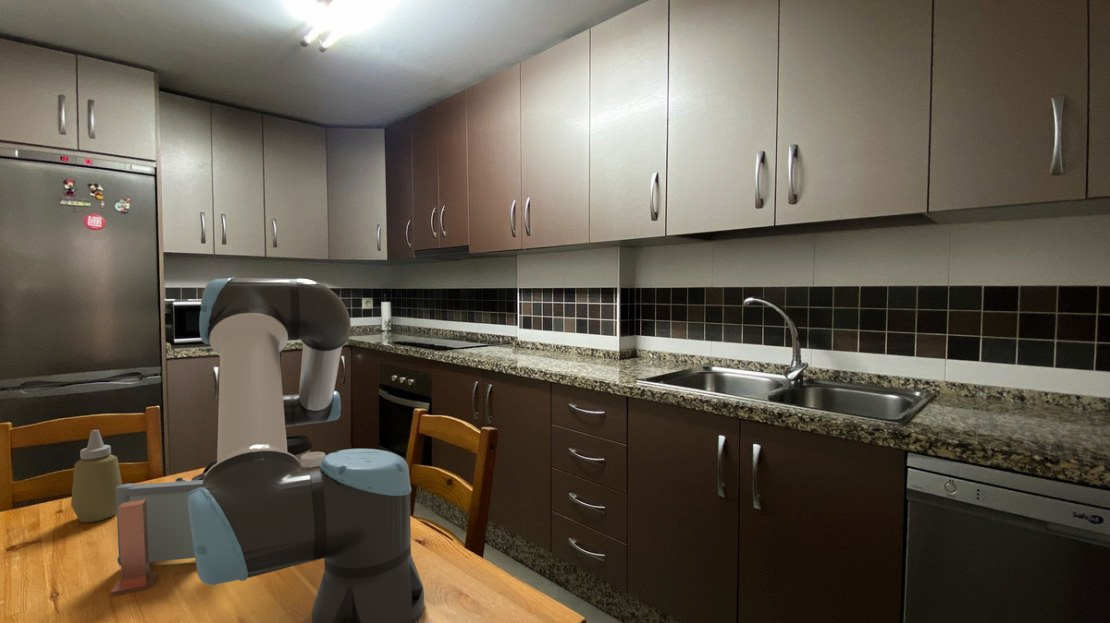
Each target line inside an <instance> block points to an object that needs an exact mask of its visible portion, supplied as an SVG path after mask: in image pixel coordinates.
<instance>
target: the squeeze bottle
mask: <svg viewBox="0 0 1110 623" xmlns="http://www.w3.org/2000/svg"><path fill="white" fill-rule="evenodd" d="M79 453H80V455H79V456H80V459H79V460H78V461H76V462H75V463H74V467H73V468H74V469H73V475H72V476H73V477H72V478H73V480H72V489H71V502H70V507H71V508H72V510H73V511H74V513H75V515H76V517H77V519H78V520H79V521H80V523H93V522H95V523H96V522H98V521H99V522H101V521H103V520H107V519H109V518H111V517H114V516H115V515H117V507H116V487H117V486H120V485H123V481H122V477H121V471H120V466H119V465H120V464H119V460H118V456H116V455H113V454H112V447H111V445H109V444H104V441H103V438H102V436H101V434H100V430H99V429H93V430H91V431H90V433H89V438H88V442H87V446H86V447H85V448H82V449H80V452H79Z"/></svg>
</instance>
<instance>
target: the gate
mask: <svg viewBox="0 0 1110 623" xmlns="http://www.w3.org/2000/svg"><path fill="white" fill-rule="evenodd" d="M199 487H203V480H194V481H188V480H186V481H180V482H175V481H168V482H152V483H141V484H140V483H138V484H137V483H136V484H135V483H131V482H130V483H124V484H123V483H122V485H120V486H117V487H116V507H117V514H116V526H117V527H116V528H117V547H118V548H117V549H118V550H117V551H118V557H117V563H118V566H120V567H121V552H120V531H119V509H118V508H119V506H120V505H121V504H122V503H124V502H131V501H137V500H144V499H146V505H147V528H148V551H149V563H154V562H155V563H156V562H164V561H165V562H166V561H176V560H184V559H185V560H186V559H195V554H194V548H193V540H192V532H191V525H190V517H189V509H188V493H189V492H191V491H192V490H196V489H197V488H199Z"/></svg>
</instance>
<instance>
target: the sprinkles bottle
mask: <svg viewBox="0 0 1110 623" xmlns="http://www.w3.org/2000/svg"><path fill="white" fill-rule="evenodd" d="M326 455H327V454H326V453H325V452H323V451H310V453H306V454H304V455H302V456H301V468H302V471H308V470H314V469H319V468H321V467H320V464H321V462H322V460H323V458H324V457H325V456H326Z"/></svg>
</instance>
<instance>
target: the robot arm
mask: <svg viewBox="0 0 1110 623" xmlns="http://www.w3.org/2000/svg"><path fill="white" fill-rule="evenodd" d="M200 300H201V301H200V311H199V335H200V339H201V341H202V343H204V344H205V345H209V346H210V347H211V349H212V350H213V352H214V353H215V354H217V355H218V356H219V380H218V381H219V385H218V415H217V416H218V420H217V422H218V425H217V452H216V453H217V454H216V459H215V460H212V461H211V462H209V463H208V464H207V465H206V466H205V468H204V470H203V472H202V473H200V474H198V475H194V477H192V478H191V479H189V480H187V479H184V478H183V477H178V478H176V479H175V481H174V482H180V481H194V480H203V487H199V488H197V489H196V490H192V491H191V492H189V493H188V509H189V517H190V525H191V532H192V540H193V548H194V554H195V558H194V559H195V567H196V572H197V576H198V579H199V580H200V581H201V582H202V583H203V584H204V585H207V586H216V585H221V584H226V583H230V582H235V581H236V582H237V581H240V582H241V581H242V582H243V581H244V582H245V581H247V580H248V579H251V578H253V577H258V576H261V575H265V574H269V573H272V572H276V571H280V570H284V569H288V568H290V567H291V568H292V567H294V566H295V567H296V566H299V565H303V564H306V563H309V562H311V563H312V562H315V561H318V560H322V559H324V562H323V563H324V564H323V565H324V568H323V570H324V571H323V574H322V578H321V580H320V584H319V587H318V589H317V593H316V596H315V600H314V603H313V606H312V609H311V610H312V611H311V623H417V622H418V621H419V620H420V619H421V616H422V615H423V613H424V610H425V589H424V585H423V582H422V580H421V577H420V574H419V571H418V569H417V565H416V564H415V561H414V559H413V556H412V547H411V546H412V541H411V540H412V535H411V533H412V532H411V531H412V530H411V529H412V528H411V527H412V526H411V525H412V524H411V521H412V520H411V492H412V485H411V480H410V470H409V465H408V463H407V461H406V460H405V459H404V458H403V457H402V456H400V455H398V454H396V453H394V452H391V451H388V450H382V449H376V448H349V449H341V450H336V451H335V452H329V453H328V454H325V455H326V456H325V457H324V458H323V460H322V462H321V464H320V467H321V468H319V469H314V470H308V471H302V472H301V466H300V462H299V460H298V459H297V458H296V457H295V456H294V455H292V454H290V453H288V452H287V441H286V436H287V434H286V433H287V430H286V428H287V427H294V426H295V427H296V426H303V425H310V424H319V423H320V424H321V423H322V424H323V423H327V422H332V421H337V420H338V419H339V418H340V416H341V412H342V411H341V409H342V404H341V402H342V401H341V395H340V393H339V392H338V391H337V390H335V387H336V382H337V376H338V371H339V365H340V360H341V355H342V349H343V347H344V346H345V345H346V343H348V341H349V337H350V332H351V326H352V323H351V317H350V313H349V311H348V309H347V307H346V305H345V304H344V302H343V301H342V299H341V298H340V297H339V295H338V294H336V293H335V292H334V291H333V290H331V289H330V288H329V287H327V286H326V285H324V284H322V283H320V282H317V281H315V280H313V279H308V278H263V277H262V278H257V277H256V278H255V277H254V278H252V277H250V278H249V277H228V278H216V279H213V280H210V281H209V282H208V283H207V284H206V285H205V287H204V289H203V292H202V297H201V299H200ZM288 341H300V342H301V343H302V351H301V352H302V353H301V354H302V355H301V366H300V380H299V391H298V392H299V393H296V394H287V395H286V394H285V395H284V393H283V391H284V390H283V384H282V381H283V380H282V370H281V355H280V354H281V352H282V351H283V349H285V348H286V346H287V343H288Z"/></svg>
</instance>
